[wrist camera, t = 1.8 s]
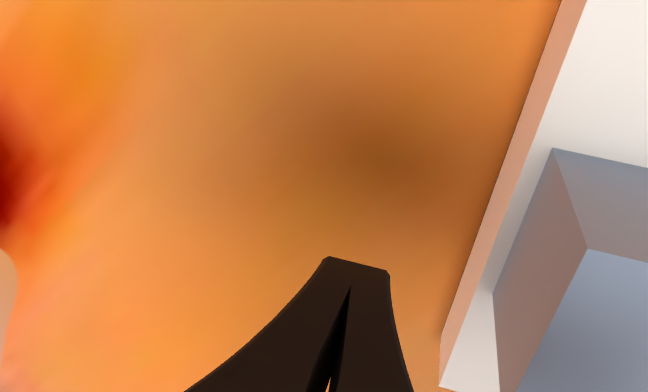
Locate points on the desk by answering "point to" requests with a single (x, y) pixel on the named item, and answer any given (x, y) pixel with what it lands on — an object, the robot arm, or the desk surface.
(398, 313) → the desk surface
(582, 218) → the block
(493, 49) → the desk surface
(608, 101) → the deck
